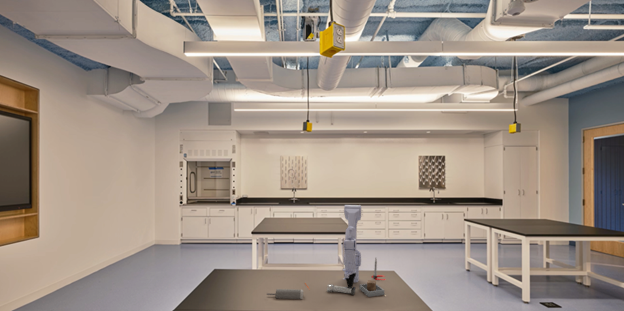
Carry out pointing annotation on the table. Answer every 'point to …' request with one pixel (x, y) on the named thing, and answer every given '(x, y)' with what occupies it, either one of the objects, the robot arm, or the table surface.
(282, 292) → the motor
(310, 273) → the table surface
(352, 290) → the crank lever
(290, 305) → the table surface
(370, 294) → the tray
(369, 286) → the block
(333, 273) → the table surface
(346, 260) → the robot arm
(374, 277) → the tow hook
